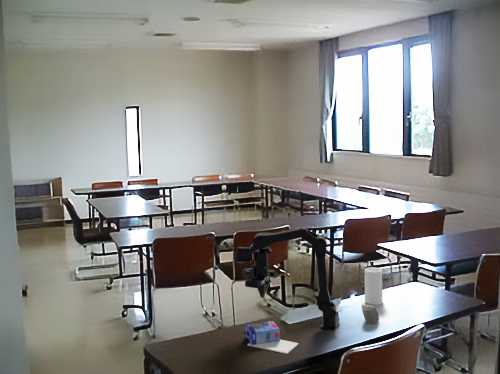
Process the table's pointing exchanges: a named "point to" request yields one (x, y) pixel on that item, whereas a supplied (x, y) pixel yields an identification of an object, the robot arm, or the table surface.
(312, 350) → the table surface
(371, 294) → the cup
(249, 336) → the ink cartridge box
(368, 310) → the mineral specimen
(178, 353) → the table surface
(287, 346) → the mat
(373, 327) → the table surface
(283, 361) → the table surface
